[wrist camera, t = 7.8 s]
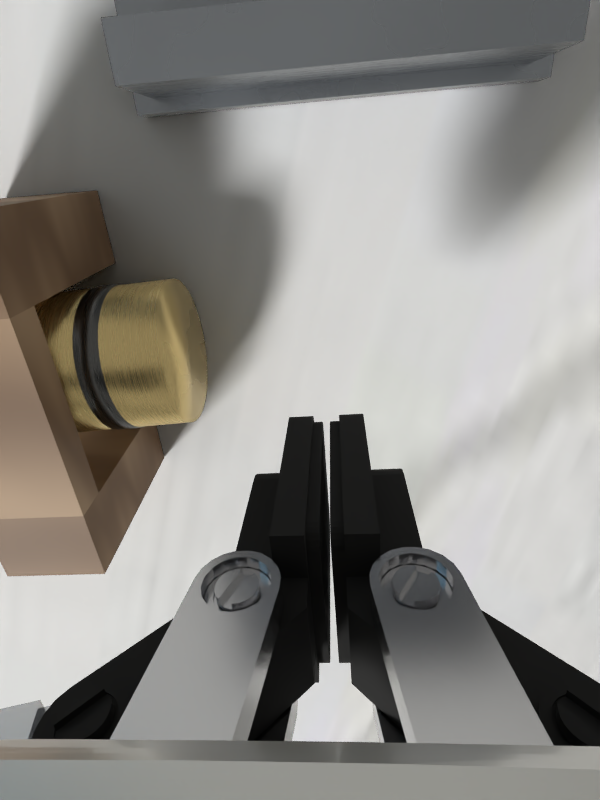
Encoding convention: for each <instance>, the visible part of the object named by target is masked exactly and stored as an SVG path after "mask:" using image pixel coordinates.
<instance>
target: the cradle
mask: <svg viewBox="0 0 600 800" xmlns="http://www.w3.org/2000/svg"><path fill="white" fill-rule="evenodd" d="M114 1H115V6H116V11H117V16H111V17H101V21H102V25H103V30H104V35H105V39H106V44H107V49H108V53H109V58H110V63H111V67H112V72H113V77H114V81H115V86H117V87H120V88H123V89H126V90H129V91H132V92H133V95H134V100H135V105H136V110H137V115H139V116H144V117H155V116H166V115H176V114H187V113H198V112H209V111H220V110H231V109H241V108H252V107H263V106H274V105H285V104H296V103H306V102H317V101H328V100H339V99H350V98H361V97H371V96H382V95H393V94H404V93H415V92H426V91H437V90H447V89H458V88H469V87H480V86H491V85H502V84H512V83H523V82H534V81H540V80H543V79H546V78H549V77H551V72H552V65H553V58H554V53H556V52H558V51H560V50H563V49H565V48H567V47H570V46H572V45H574V44H576V43H579V42H581V41H583V40H584V36H585V30H586V24H587V18H588V11H589V5H590V0H114Z"/></svg>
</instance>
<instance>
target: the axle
mask: <svg viewBox="0 0 600 800" xmlns="http://www.w3.org/2000/svg"><path fill="white" fill-rule="evenodd" d="M35 309H36V312H37V315H38V318H39V321H40V324H41V327H42V330H43V332H44V335H45V338H46V341H47V344H48V347H49V350H50V353H51V356H52V359H53V362H54V364H55V367H56V370H57V373H58V376H59V379H60V382H61V385H62V388H63V391H64V394H65V396H66V399H67V402H68V405H69V408H70V411H71V414H72V417H73V420H74V423H75V426H76V428H77V431H78V432H87V431H98V430H110V429H116V430H120V429H132V428H142V427H145V426H154V425H165V424H177V423H188V422H194V421H196V420H197V419H198V418H199V417H200V415H201V413H202V411H203V408H204V404H205V399H206V393H207V357H206V348H205V342H204V336H203V331H202V327H201V323H200V319H199V316H198V312H197V309H196V307H195V304H194V302H193V299H192V297H191V295H190V293H189V292H188V290H187V288H186V287H185V286H184V285H183V284H182V282H180V281H179V280H177V279H166V280H158V281H149V282H141V283H132V284H115V285H107V286H98V287H94V288H90V289H82V290H73V291H65V292H59V293H57V294H55V295H54V296H52V297H50V298H48V299H46V300H44V301H42V302H40V303H38V304H37V305H35Z"/></svg>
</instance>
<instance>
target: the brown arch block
mask: <svg viewBox="0 0 600 800" xmlns="http://www.w3.org/2000/svg"><path fill="white" fill-rule="evenodd" d="M114 263H115V259H114V255H113V251H112V247H111V243H110V240H109V236H108V232H107V228H106V224H105V220H104V216H103V212H102V208H101V204H100V200H99V196H98V192H97V191H84V192H72V193H60V194H48V195H36V196H24V197H11V198H1V199H0V562H1V564H2V566H3V568H4V570H5V572H6V574H7V576H35V575H73V574H105V572H106V570H107V568H108V567H109V565H110V563H111V561H112V559H113V557H114V555H115V553H116V551H117V549H118V547H119V545H120V543H121V541H122V539H123V537H124V535H125V533H126V531H127V529H128V527H129V525H130V523H131V522H132V520H133V518H134V516H135V514H136V512H137V510H138V508H139V506H140V504H141V502H142V500H143V498H144V496H145V494H146V492H147V490H148V488H149V486H150V484H151V482H152V480H153V478H154V477H155V475H156V473H157V471H158V469H159V467H160V465H161V463H162V461H163V459H164V454H163V450H162V446H161V442H160V438H159V434H158V430H157V426H156V425H154V426H145V427H142V428H132V429H120V430H116V429H110V430H98V431H87V432H78V431H77V428H76V426H75V423H74V420H73V417H72V414H71V411H70V408H69V405H68V402H67V399H66V396H65V394H64V391H63V388H62V385H61V382H60V379H59V376H58V373H57V370H56V367H55V364H54V362H53V359H52V356H51V353H50V350H49V347H48V344H47V341H46V338H45V335H44V332H43V330H42V327H41V324H40V321H39V318H38V315H37V312H36V309H35V305H37V304H38V303H40V302H42V301H44V300H46V299H48V298H50V297H52V296H54V295H55V294H57V293H59V292H61V291H63V290H65V289H67V288H69V287H70V286H72V285H74V284H76V283H78V282H80V281H82V280H84V279H86V278H87V277H89V276H91V275H93V274H95V273H97V272H99V271H101V270H103V269H104V268H106V267H108V266H110V265H112V264H114Z"/></svg>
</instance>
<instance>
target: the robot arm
mask: <svg viewBox="0 0 600 800" xmlns="http://www.w3.org/2000/svg"><path fill="white" fill-rule="evenodd" d="M330 533H331V553H332V567H333V582H334V596H335V610H336V624H337V639H338V653H339V663H351V678H352V684H353V685H354V686H355V687H356V688H357V689H358V690H359V691H361V692H362V693H363V694H364V695H365V696H366V697H367V698H368V699H369V700H370V701H371V702H372V703H373V714H374V720H375V724H376V728H377V733H378V737H379V742H380V743H377V742H306V741H292V737H293V732H294V727H295V723H296V718H297V706H298V701H297V699H298V698H300V697H301V696H302V695H303V694H304V693H305V692H306V691H307V690H308V689H309V688H310V687H311V686H312V685H313V684H314V683H315V682H319V663H330ZM0 800H600V683H598V682H596V681H595V680H593V679H592V678H590V677H588V676H587V675H585V674H584V673H582V672H580V671H579V670H577V669H576V668H574V667H572V666H571V665H569V664H567V663H566V662H564V661H563V660H561V659H559V658H558V657H556V656H555V655H553V654H551V653H550V652H548V651H547V650H545V649H543V648H542V647H540V646H538V645H537V644H535V643H534V642H532V641H530V640H529V639H527V638H526V637H524V636H522V635H521V634H519V633H517V632H516V631H514V630H513V629H511V628H509V627H508V626H506V625H505V624H503V623H501V622H500V621H498V620H497V619H495V618H493V617H492V616H490V615H488V614H487V613H485V612H484V611H482V610H481V609H480V607H479V606H478V604H477V602H476V600H475V598H474V596H473V594H472V593H471V591H470V589H469V587H468V585H467V583H466V581H465V580H464V578H463V576H462V574H461V573H460V571H459V570H458V569H457V567H456V566H455V565H454V563H452V562H451V561H450V560H448V559H447V558H446V557H444V556H443V555H441V554H439V553H436V552H434V551H432V550H429V549H424V548H422V545H421V541H420V537H419V533H418V529H417V525H416V521H415V517H414V513H413V509H412V505H411V501H410V497H409V493H408V489H407V485H406V481H405V477H404V473H403V470H402V469H379V470H371V466H370V459H369V452H368V445H367V438H366V431H365V424H364V417H363V414H351V415H339V421H333V422H330V518H329V503H328V489H327V474H326V460H325V445H324V431H323V422H314V418H313V416H308V417H289V422H288V428H287V434H286V440H285V445H284V451H283V457H282V463H281V469H280V473H270V474H256V475H255V478H254V482H253V485H252V489H251V493H250V497H249V501H248V505H247V509H246V513H245V517H244V521H243V525H242V529H241V533H240V537H239V541H238V545H237V549H236V551H235V552H231V553H227V554H223V555H221V556H219V557H217V558H215V559H213V560H212V561H210V562H209V563H208V564H207V565H205V566H204V567H203V568H202V569H201V570H200V572H199V573H198V574H197V576H196V577H195V579H194V580H193V582H192V584H191V586H190V588H189V590H188V592H187V594H186V596H185V597H184V599H183V601H182V603H181V605H180V607H179V609H178V611H177V613H176V615H175V616H174V618H173V619H172V620H170V621H169V622H167V623H166V624H164V625H163V626H161V627H160V628H158V629H157V630H155V631H154V632H153V633H151V634H150V635H148V636H147V637H145V638H144V639H142V640H141V641H139V642H138V643H136V644H135V645H133V646H132V647H130V648H129V649H127V650H126V651H124V652H123V653H121V654H120V655H118V656H117V657H115V658H114V659H112V660H111V661H109V662H108V663H106V664H105V665H103V666H102V667H100V668H99V669H98V670H96V671H95V672H93V673H92V674H90V675H89V676H87V677H86V678H84V679H83V680H81V681H80V682H78V683H77V684H75V685H74V686H72V687H71V688H70V689H68V690H67V691H66V692H65V693H63V694H62V695H61V696H60V697H59V698H57V699H56V700H55V701H54V702H53V704H52V705H51V706H47V707H44V706H43V704H42V702H41V700H38V701H34V702H29V703H25V704H21V705H16V706H12V707H7V708H3V709H0Z"/></svg>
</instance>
